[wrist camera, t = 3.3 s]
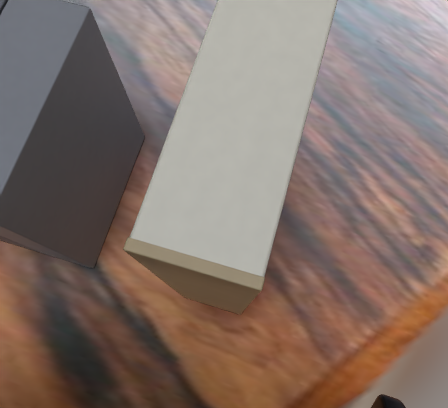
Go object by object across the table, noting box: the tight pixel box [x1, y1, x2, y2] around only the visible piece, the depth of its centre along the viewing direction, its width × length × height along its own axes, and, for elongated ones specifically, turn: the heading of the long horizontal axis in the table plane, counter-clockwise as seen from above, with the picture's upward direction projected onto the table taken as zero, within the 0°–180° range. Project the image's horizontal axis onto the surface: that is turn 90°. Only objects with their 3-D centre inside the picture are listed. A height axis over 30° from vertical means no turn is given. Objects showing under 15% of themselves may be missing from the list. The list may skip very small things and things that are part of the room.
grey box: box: [0, 0, 145, 269], centre depth 18 cm, size 8×6×10 cm
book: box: [123, 0, 338, 315], centre depth 16 cm, size 8×3×13 cm, turn 163°
